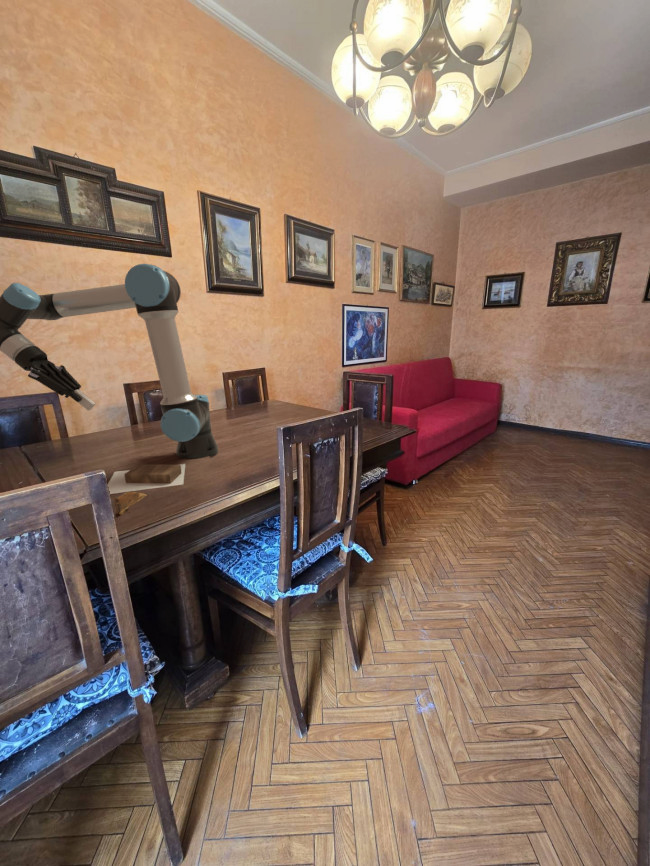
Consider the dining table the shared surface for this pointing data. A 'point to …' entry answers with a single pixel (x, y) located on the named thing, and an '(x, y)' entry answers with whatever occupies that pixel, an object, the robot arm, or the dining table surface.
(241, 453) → the dining table surface
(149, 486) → the white paper sheet
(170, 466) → the walnut slab
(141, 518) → the dining table surface
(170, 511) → the dining table surface
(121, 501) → the shard
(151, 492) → the dining table surface
